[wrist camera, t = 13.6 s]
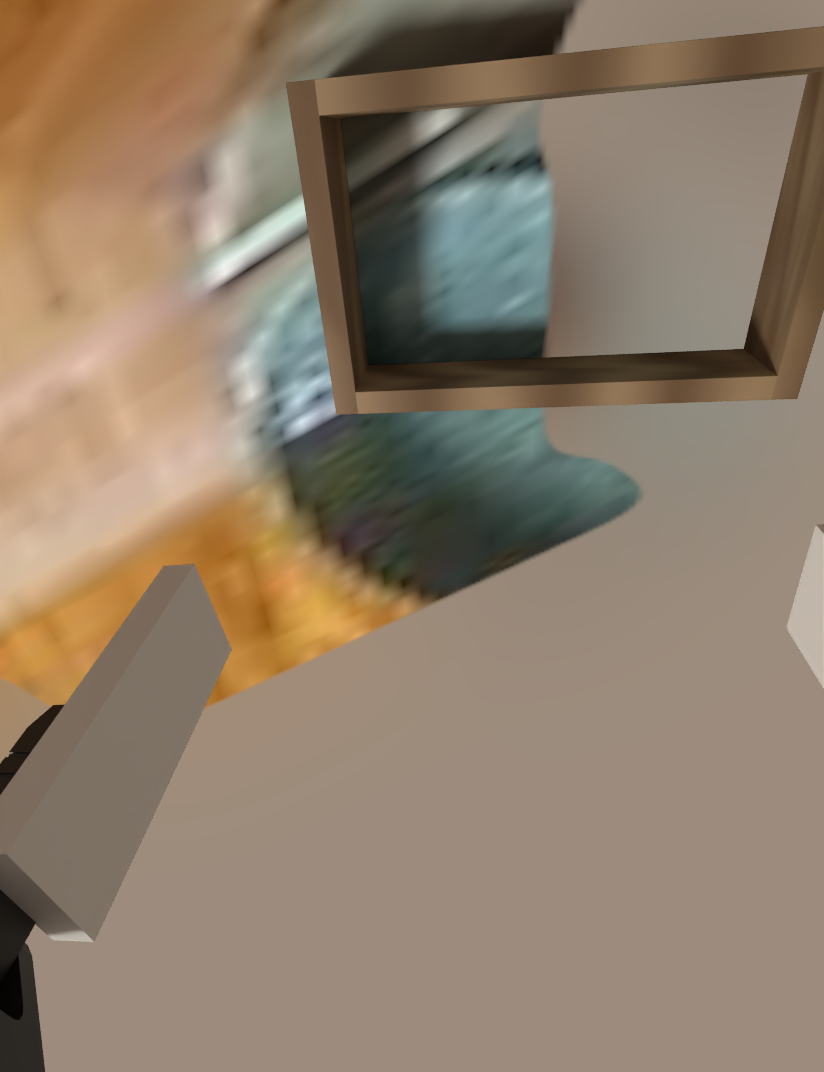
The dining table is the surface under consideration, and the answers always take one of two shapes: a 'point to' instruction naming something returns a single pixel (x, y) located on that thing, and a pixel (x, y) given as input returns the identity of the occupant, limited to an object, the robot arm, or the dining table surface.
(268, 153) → the dining table surface
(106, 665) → the robot arm
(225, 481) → the dining table surface
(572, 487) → the dining table surface
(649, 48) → the pocket frame
